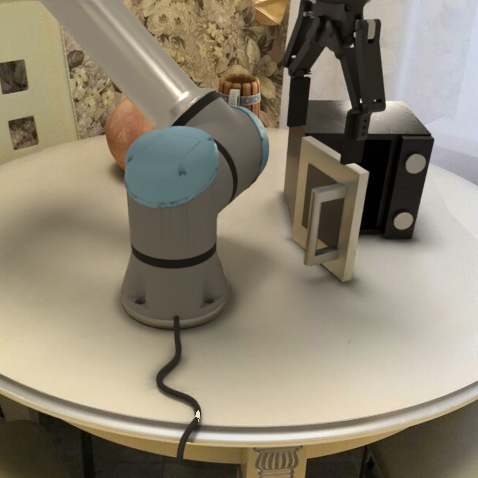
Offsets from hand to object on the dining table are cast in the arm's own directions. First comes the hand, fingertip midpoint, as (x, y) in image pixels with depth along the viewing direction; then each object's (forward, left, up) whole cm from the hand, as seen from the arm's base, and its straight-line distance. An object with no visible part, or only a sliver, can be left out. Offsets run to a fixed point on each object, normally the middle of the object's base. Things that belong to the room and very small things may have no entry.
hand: (321, 143), depth 82 cm
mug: (+50, +8, -22) cm, 55 cm away
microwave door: (+5, -1, -22) cm, 22 cm away
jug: (+41, +25, -22) cm, 52 cm away
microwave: (+21, -10, -22) cm, 32 cm away
